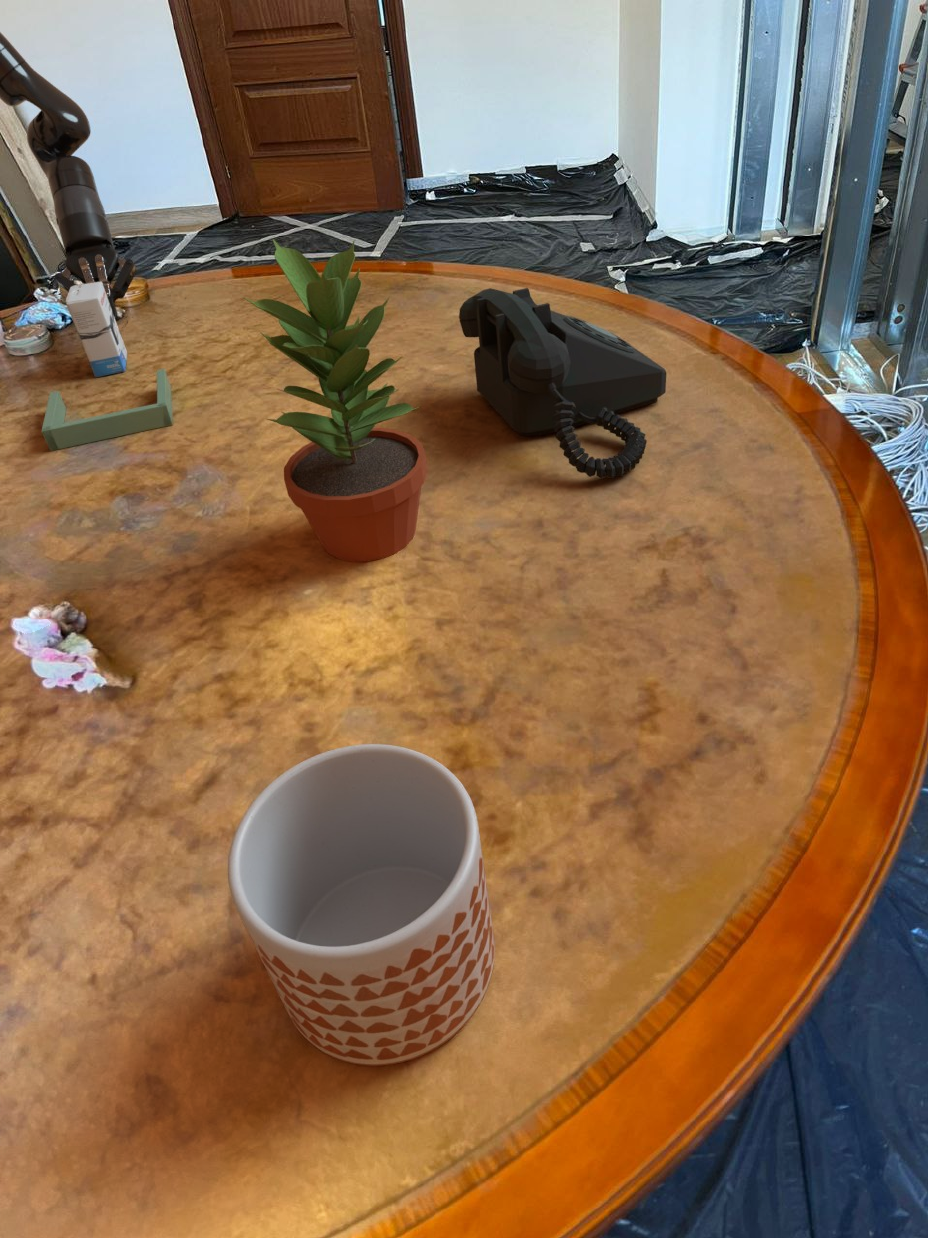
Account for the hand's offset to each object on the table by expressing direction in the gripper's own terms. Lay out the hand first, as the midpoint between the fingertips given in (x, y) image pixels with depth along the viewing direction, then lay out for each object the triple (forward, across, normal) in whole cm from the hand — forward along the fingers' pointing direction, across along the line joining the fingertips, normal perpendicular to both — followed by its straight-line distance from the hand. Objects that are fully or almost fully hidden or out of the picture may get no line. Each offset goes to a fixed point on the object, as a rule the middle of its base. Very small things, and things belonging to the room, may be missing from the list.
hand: (109, 323), depth 137 cm
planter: (+87, -18, +81) cm, 120 cm away
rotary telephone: (+43, -58, +36) cm, 81 cm away
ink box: (+7, +1, 0) cm, 7 cm away
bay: (+21, +1, +14) cm, 25 cm away
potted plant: (+53, -28, +47) cm, 76 cm away
